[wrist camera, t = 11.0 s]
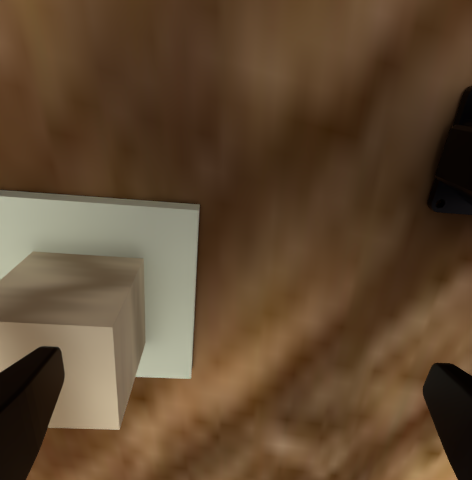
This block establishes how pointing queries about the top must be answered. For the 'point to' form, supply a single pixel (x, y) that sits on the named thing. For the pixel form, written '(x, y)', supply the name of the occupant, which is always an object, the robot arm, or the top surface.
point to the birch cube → (78, 329)
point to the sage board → (119, 245)
